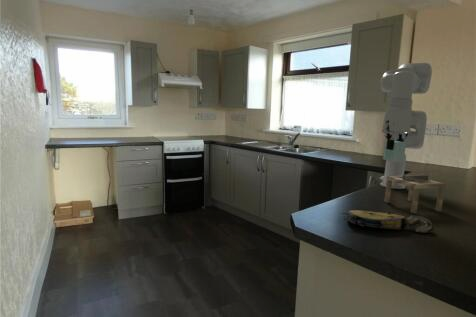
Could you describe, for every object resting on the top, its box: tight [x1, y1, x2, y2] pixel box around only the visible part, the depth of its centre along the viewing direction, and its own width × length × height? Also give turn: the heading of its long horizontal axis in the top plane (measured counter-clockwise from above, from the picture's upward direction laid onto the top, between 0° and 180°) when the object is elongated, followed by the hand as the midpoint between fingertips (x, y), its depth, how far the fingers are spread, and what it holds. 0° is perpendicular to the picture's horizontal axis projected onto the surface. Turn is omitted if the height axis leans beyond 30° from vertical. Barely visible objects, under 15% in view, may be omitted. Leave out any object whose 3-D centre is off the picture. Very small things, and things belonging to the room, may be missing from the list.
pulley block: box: [341, 209, 435, 234], centre depth 106 cm, size 14×6×30 cm
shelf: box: [383, 174, 446, 214], centre depth 131 cm, size 16×15×14 cm
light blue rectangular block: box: [382, 139, 406, 162], centre depth 122 cm, size 7×4×8 cm, turn 17°
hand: (394, 149), depth 122 cm, fingers closed on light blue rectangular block, 4 cm apart
